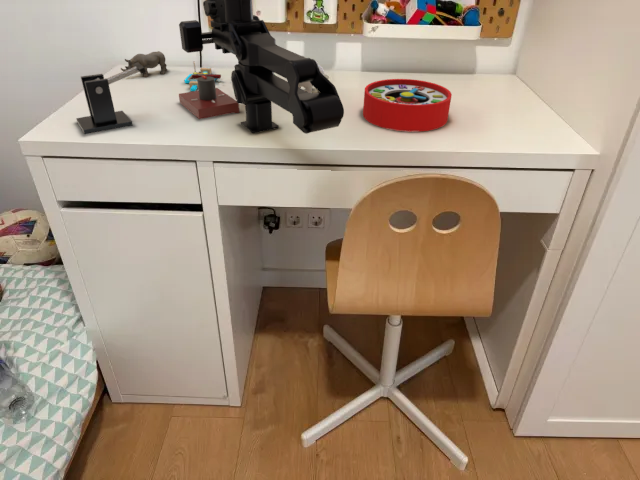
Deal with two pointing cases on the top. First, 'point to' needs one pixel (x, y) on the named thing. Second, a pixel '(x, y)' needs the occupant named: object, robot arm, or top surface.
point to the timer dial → (206, 88)
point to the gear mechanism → (195, 76)
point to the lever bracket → (100, 107)
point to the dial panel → (209, 104)
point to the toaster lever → (126, 73)
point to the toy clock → (406, 105)
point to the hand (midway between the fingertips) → (207, 26)
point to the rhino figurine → (148, 61)
